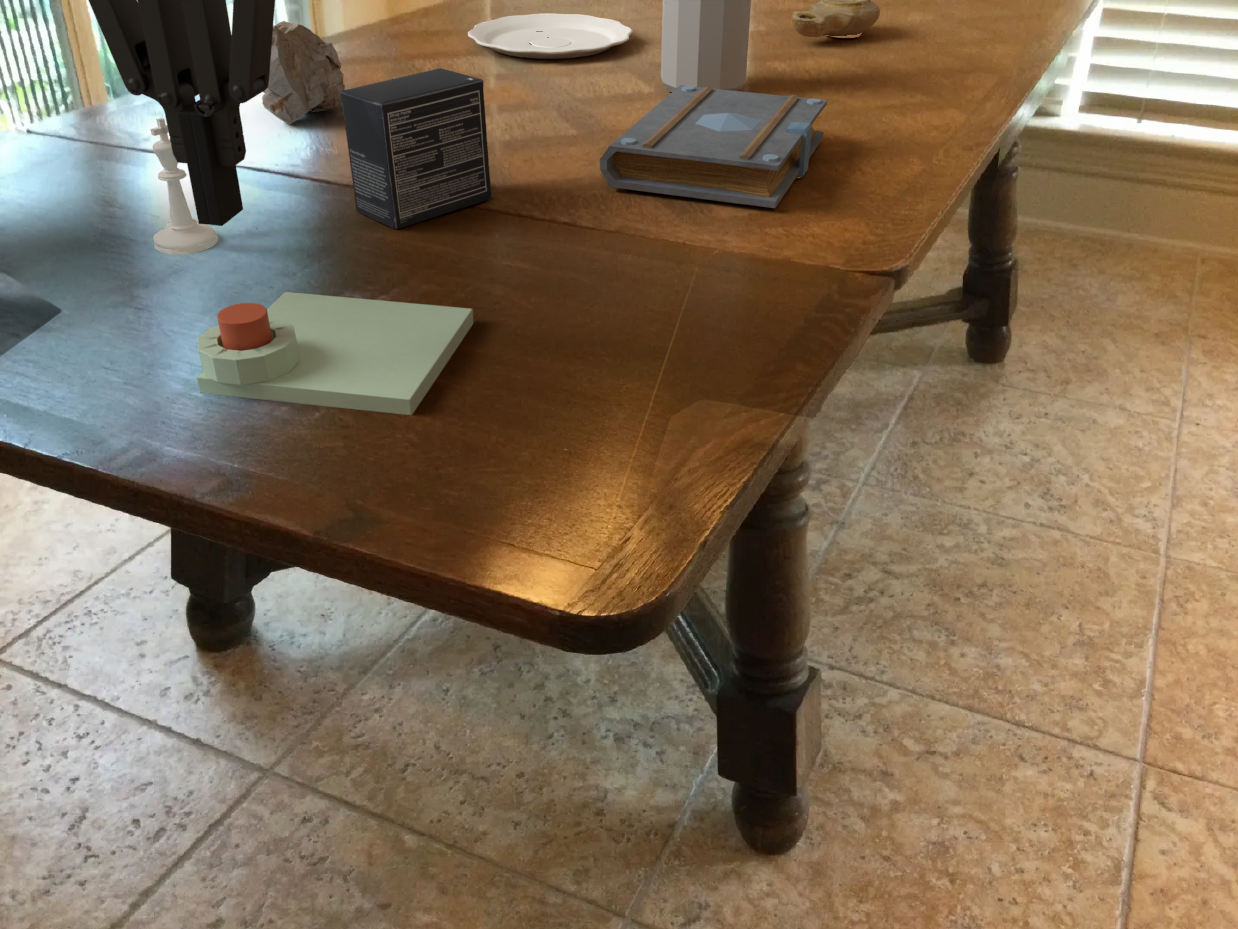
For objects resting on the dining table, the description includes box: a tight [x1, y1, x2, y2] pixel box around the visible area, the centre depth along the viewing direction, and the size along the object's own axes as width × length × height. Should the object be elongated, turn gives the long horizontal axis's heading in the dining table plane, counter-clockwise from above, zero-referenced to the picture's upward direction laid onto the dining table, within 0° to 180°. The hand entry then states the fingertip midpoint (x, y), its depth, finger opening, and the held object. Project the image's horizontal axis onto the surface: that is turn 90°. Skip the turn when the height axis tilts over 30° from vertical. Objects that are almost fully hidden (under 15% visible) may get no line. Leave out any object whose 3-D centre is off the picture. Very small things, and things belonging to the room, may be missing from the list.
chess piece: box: [150, 117, 219, 255], centre depth 91 cm, size 5×5×10 cm
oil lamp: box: [791, 0, 881, 38], centre depth 152 cm, size 11×14×5 cm
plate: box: [467, 12, 633, 60], centre depth 149 cm, size 21×21×2 cm
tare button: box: [216, 302, 272, 351], centre depth 72 cm, size 3×3×2 cm
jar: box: [660, 0, 752, 93], centre depth 127 cm, size 10×10×18 cm
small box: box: [340, 67, 493, 230], centre depth 98 cm, size 11×6×10 cm, turn 135°
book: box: [599, 85, 828, 209], centre depth 109 cm, size 21×16×5 cm
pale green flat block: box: [196, 291, 474, 416], centre depth 76 cm, size 14×13×3 cm
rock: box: [261, 20, 346, 125], centre depth 120 cm, size 9×12×10 cm
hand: (221, 216), depth 69 cm, fingers closed
